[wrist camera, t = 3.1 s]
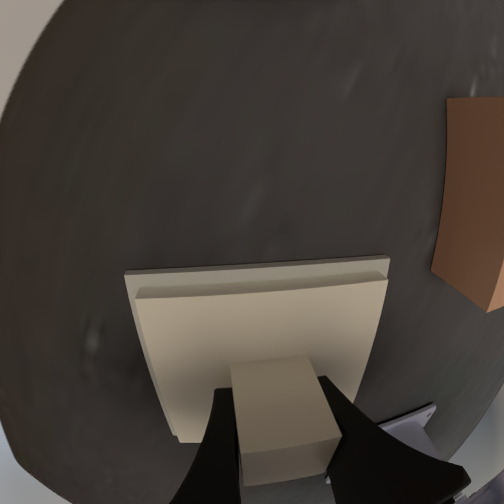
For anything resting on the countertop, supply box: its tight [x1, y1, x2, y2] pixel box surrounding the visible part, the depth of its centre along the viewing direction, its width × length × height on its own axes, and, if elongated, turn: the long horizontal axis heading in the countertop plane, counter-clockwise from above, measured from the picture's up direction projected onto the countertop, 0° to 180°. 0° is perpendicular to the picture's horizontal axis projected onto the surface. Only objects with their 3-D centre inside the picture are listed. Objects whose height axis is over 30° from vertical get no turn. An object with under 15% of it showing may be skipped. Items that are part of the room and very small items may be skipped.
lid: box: [135, 271, 388, 486], centre depth 9 cm, size 9×9×5 cm
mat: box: [124, 255, 390, 435], centre depth 12 cm, size 10×10×1 cm
